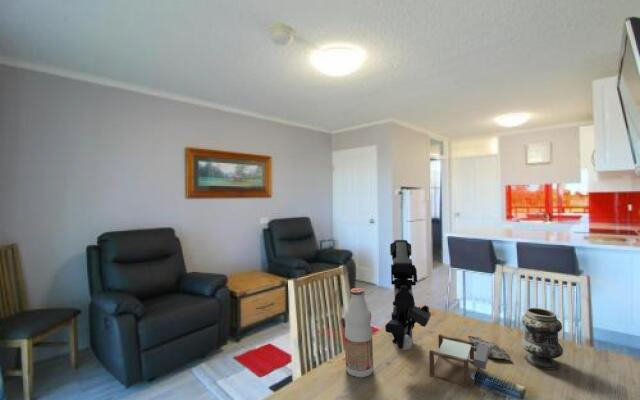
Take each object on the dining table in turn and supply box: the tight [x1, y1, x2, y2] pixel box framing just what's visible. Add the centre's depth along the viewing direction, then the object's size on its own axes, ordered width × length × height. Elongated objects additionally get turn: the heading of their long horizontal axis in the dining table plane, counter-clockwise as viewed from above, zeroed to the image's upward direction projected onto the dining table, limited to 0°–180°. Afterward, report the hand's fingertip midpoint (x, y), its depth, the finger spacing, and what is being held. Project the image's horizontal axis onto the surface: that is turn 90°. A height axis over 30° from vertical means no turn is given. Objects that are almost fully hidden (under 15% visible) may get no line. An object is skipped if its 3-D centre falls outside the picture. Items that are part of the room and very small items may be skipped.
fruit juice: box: [344, 287, 374, 378], centre depth 108 cm, size 9×9×28 cm
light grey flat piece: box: [437, 339, 489, 370], centre depth 105 cm, size 14×11×2 cm
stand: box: [428, 333, 479, 389], centre depth 106 cm, size 13×15×8 cm
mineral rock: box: [467, 335, 511, 361], centre depth 117 cm, size 15×8×4 cm, turn 15°
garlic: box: [395, 334, 414, 351], centre depth 105 cm, size 6×5×5 cm
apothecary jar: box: [520, 307, 564, 371], centre depth 110 cm, size 12×12×18 cm
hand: (404, 344), depth 105 cm, fingers closed on garlic, 6 cm apart
